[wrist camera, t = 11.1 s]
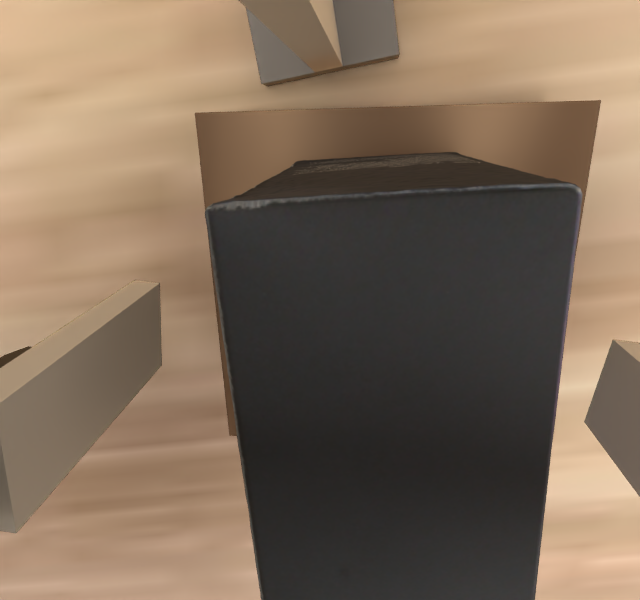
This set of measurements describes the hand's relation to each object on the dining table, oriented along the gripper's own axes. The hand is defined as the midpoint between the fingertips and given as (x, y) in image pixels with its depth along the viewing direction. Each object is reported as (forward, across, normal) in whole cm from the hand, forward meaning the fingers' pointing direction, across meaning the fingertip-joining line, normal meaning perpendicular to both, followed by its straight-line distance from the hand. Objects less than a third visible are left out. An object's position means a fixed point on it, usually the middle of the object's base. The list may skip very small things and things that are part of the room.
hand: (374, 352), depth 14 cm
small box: (+5, 0, 0) cm, 6 cm away
